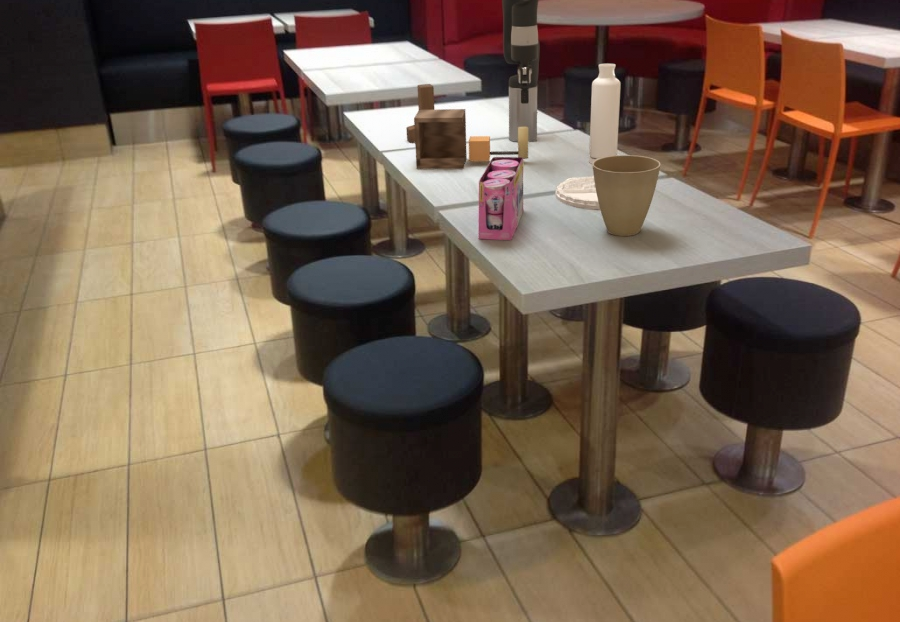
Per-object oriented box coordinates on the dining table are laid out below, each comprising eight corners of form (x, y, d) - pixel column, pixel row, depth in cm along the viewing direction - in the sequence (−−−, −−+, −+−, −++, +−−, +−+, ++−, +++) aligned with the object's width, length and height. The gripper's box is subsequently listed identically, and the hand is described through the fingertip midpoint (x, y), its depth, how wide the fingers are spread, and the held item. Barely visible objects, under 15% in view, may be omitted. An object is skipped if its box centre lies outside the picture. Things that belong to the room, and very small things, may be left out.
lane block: (528, 155, 252) (528, 125, 248) (528, 160, 247) (528, 129, 243) (470, 156, 254) (469, 126, 250) (469, 161, 248) (468, 130, 244)
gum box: (511, 243, 188) (511, 184, 182) (476, 241, 190) (475, 183, 184) (523, 210, 209) (524, 156, 204) (492, 209, 211) (492, 156, 205)
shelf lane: (466, 158, 257) (465, 109, 251) (463, 168, 246) (462, 117, 240) (421, 158, 258) (419, 109, 252) (416, 168, 248) (414, 118, 241)
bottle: (614, 166, 243) (619, 67, 231) (586, 164, 246) (590, 66, 234) (618, 159, 250) (623, 62, 238) (591, 157, 252) (595, 62, 241)
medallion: (586, 216, 204) (587, 207, 203) (532, 189, 226) (532, 180, 225) (665, 201, 212) (666, 193, 211) (605, 176, 235) (606, 168, 234)
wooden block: (409, 143, 277) (406, 88, 270) (406, 140, 281) (403, 85, 274) (436, 140, 279) (433, 85, 272) (432, 137, 283) (430, 83, 276)
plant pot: (623, 216, 202) (627, 151, 195) (669, 232, 190) (675, 164, 184) (576, 229, 195) (578, 162, 188) (620, 246, 183) (624, 176, 177)
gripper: (538, 45, 228) (538, 105, 235) (537, 38, 241) (537, 94, 248) (510, 46, 229) (511, 105, 236) (511, 39, 242) (512, 95, 249)
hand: (524, 100), depth 242 cm, fingers open, 8 cm apart
